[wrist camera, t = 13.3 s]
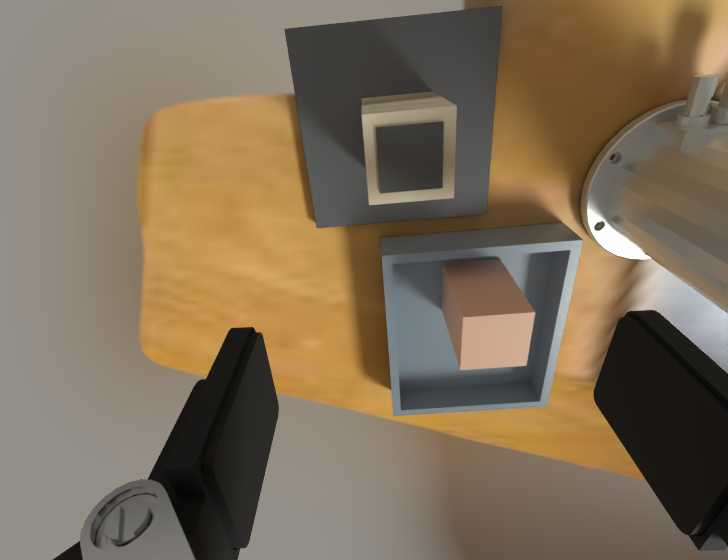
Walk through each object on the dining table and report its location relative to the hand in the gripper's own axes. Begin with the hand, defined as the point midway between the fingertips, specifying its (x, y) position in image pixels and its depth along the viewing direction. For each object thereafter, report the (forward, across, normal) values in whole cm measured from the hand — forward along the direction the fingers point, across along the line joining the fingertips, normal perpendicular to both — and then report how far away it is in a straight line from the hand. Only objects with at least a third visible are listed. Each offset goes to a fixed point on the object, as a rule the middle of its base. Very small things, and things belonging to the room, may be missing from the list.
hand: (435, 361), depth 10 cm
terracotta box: (+22, -7, +12) cm, 26 cm away
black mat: (+23, -1, -2) cm, 23 cm away
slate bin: (+23, -7, +16) cm, 29 cm away
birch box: (+22, -1, -2) cm, 22 cm away
